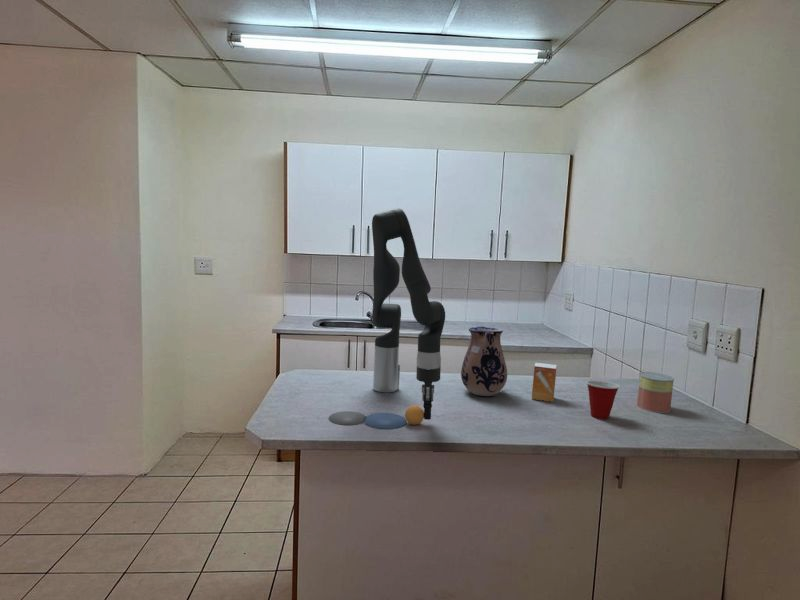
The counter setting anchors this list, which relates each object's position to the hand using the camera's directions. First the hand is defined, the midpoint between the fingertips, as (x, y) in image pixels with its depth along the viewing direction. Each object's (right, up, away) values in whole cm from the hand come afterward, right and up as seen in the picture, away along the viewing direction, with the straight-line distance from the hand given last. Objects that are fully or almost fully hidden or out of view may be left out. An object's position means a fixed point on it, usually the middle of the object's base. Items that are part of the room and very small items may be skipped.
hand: (427, 418), depth 163 cm
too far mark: (-26, -1, +3) cm, 26 cm away
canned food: (+85, -3, +28) cm, 90 cm away
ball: (-4, +1, 0) cm, 4 cm away
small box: (+46, 0, +33) cm, 56 cm away
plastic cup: (+61, -3, +16) cm, 63 cm away
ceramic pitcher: (+23, +2, +38) cm, 45 cm away
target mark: (-13, -1, +2) cm, 14 cm away
